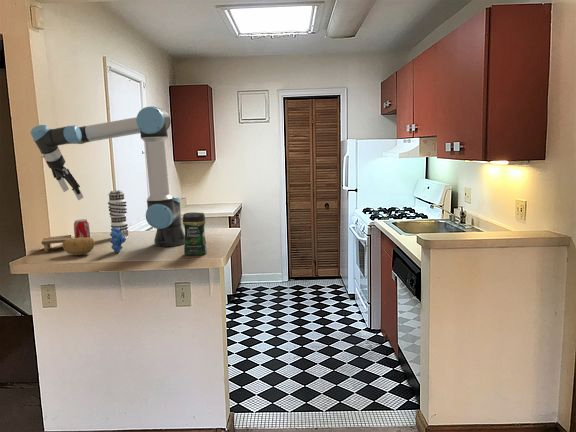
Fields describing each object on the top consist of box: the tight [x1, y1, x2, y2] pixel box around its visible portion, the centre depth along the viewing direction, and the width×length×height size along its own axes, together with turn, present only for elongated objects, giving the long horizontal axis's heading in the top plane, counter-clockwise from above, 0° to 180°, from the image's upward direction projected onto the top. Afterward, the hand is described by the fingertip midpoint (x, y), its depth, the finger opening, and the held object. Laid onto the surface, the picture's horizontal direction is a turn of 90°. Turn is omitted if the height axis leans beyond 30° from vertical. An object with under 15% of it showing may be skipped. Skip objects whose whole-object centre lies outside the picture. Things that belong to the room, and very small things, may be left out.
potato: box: [61, 237, 95, 256], centre depth 211 cm, size 10×14×8 cm
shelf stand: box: [41, 234, 72, 253], centre depth 225 cm, size 12×12×5 cm
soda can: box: [73, 218, 91, 238], centre depth 235 cm, size 7×7×12 cm
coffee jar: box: [182, 212, 208, 256], centre depth 206 cm, size 10×8×19 cm
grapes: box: [109, 227, 127, 254], centre depth 214 cm, size 12×7×12 cm, turn 4°
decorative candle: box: [107, 190, 129, 240], centre depth 246 cm, size 9×9×25 cm
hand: (73, 194), depth 228 cm, fingers open, 13 cm apart
